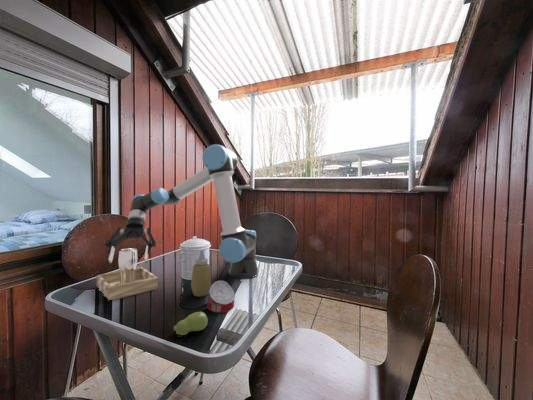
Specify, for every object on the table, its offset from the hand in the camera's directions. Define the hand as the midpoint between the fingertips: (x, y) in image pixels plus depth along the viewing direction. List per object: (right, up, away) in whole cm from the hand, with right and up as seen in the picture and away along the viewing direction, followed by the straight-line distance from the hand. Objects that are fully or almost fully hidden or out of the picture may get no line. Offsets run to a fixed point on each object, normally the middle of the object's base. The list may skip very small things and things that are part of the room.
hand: (128, 260), depth 106 cm
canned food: (+42, -14, -14) cm, 47 cm away
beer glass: (0, -10, -1) cm, 10 cm away
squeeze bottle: (+32, -13, -4) cm, 35 cm away
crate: (0, -11, -1) cm, 11 cm away
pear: (+36, -14, -31) cm, 50 cm away
